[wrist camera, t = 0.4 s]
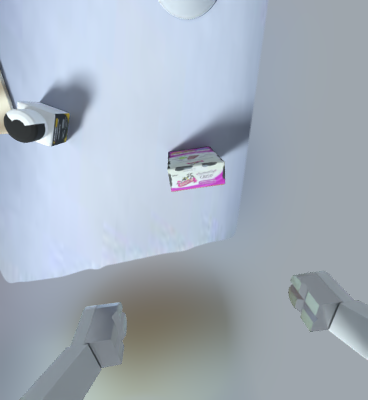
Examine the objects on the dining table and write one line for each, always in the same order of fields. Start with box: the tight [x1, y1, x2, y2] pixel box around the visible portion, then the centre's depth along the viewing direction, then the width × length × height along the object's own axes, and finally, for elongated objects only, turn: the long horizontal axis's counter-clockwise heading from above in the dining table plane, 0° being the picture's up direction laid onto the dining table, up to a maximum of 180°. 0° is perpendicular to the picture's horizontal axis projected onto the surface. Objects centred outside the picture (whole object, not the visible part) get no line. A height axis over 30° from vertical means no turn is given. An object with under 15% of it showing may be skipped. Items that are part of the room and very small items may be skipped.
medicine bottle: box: [4, 101, 70, 146], centre depth 43 cm, size 7×7×12 cm
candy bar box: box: [168, 147, 225, 192], centre depth 46 cm, size 11×5×16 cm, turn 97°
